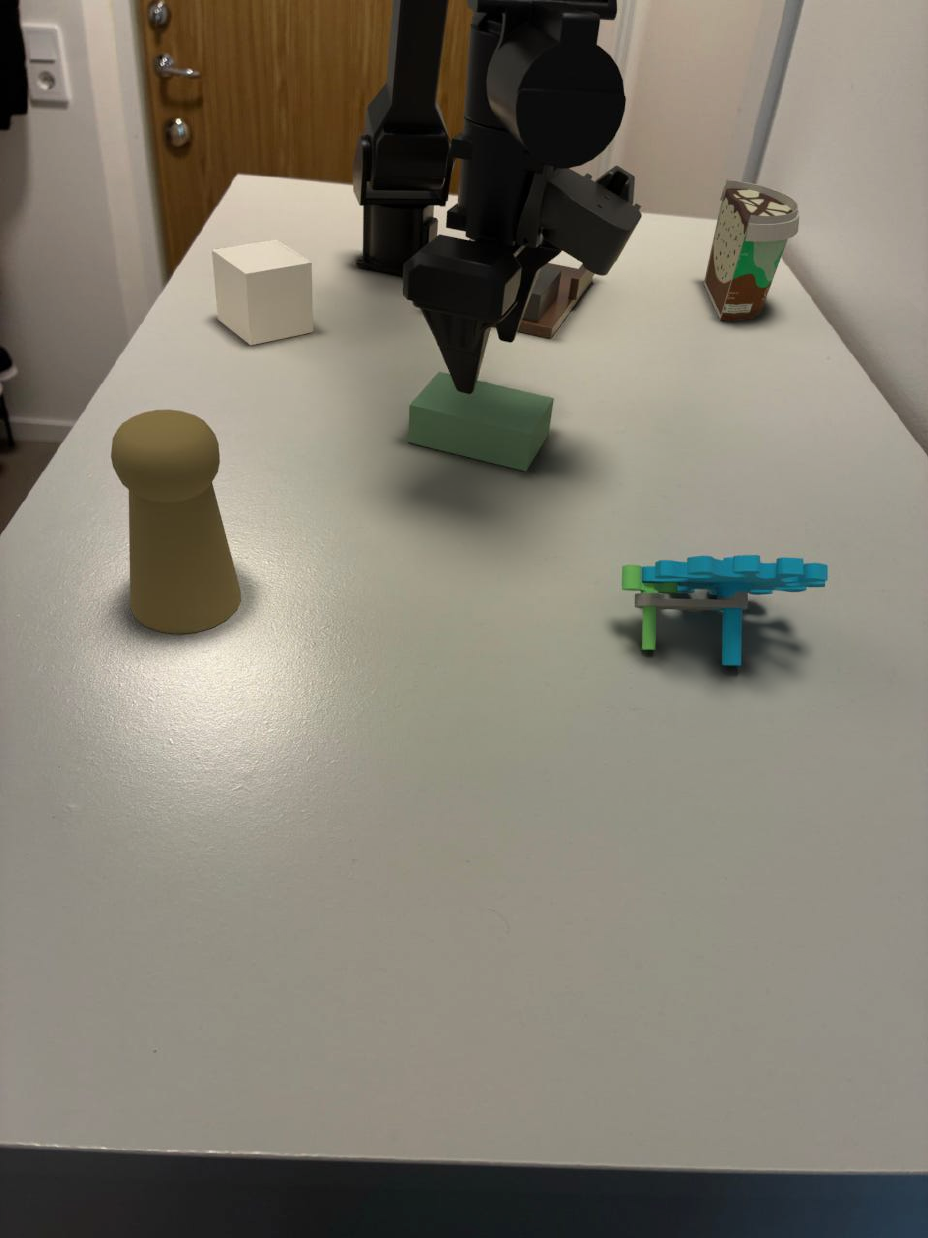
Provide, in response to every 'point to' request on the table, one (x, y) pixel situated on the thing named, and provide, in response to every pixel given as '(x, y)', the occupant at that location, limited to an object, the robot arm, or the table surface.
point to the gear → (716, 590)
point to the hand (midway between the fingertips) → (486, 365)
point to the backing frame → (553, 298)
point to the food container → (748, 247)
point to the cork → (175, 523)
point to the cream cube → (263, 291)
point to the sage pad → (481, 421)
